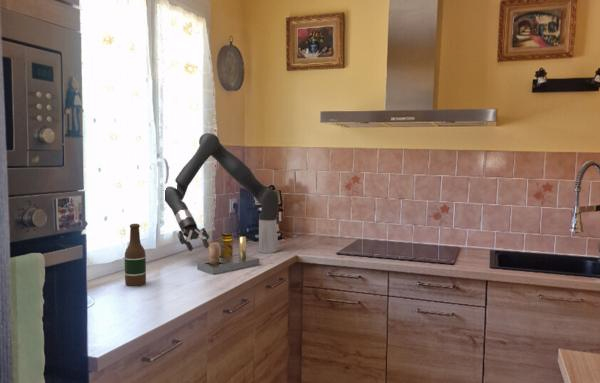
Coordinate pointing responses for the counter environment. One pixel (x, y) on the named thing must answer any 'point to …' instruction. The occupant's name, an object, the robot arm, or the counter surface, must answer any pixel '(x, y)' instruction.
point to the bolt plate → (230, 261)
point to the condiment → (226, 245)
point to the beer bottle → (135, 259)
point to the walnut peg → (213, 254)
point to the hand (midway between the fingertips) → (199, 248)
